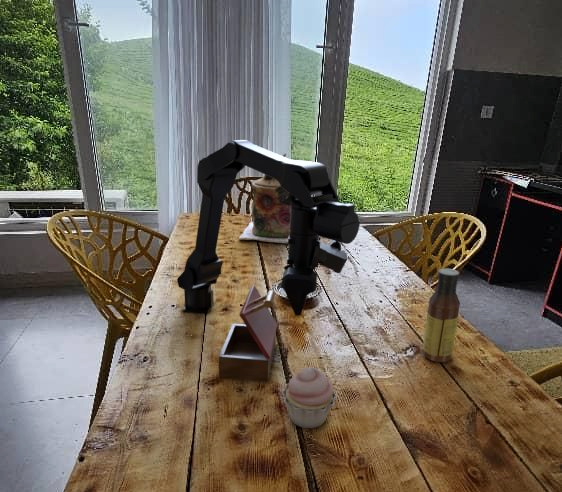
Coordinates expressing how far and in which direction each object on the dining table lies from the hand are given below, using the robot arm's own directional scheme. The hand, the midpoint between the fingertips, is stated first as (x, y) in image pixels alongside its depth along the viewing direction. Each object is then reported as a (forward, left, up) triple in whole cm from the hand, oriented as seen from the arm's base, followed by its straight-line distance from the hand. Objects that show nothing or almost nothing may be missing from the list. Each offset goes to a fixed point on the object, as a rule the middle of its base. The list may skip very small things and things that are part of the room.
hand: (299, 305), depth 90 cm
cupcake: (+3, -19, -12) cm, 23 cm away
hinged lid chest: (-10, -3, -12) cm, 16 cm away
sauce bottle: (+30, +5, -12) cm, 33 cm away
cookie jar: (-15, +90, -12) cm, 92 cm away
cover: (-8, -3, -3) cm, 9 cm away
